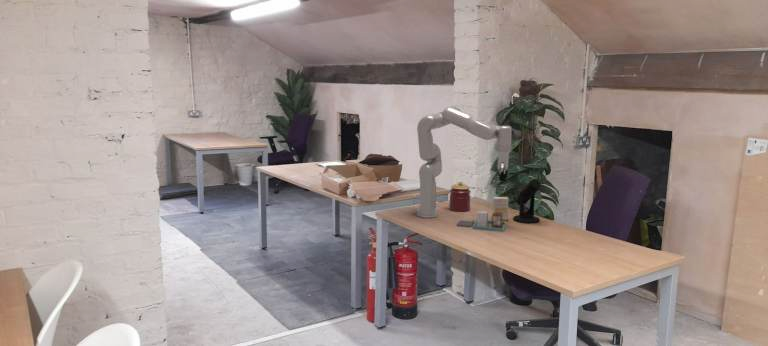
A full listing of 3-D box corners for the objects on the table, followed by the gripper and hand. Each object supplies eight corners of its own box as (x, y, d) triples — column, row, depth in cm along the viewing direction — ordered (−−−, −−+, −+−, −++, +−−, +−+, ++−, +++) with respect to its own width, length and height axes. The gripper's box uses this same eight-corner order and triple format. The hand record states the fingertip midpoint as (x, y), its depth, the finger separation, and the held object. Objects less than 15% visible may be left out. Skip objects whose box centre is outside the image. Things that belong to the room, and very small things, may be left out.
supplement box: (506, 218, 324) (507, 196, 322) (507, 220, 319) (508, 198, 317) (492, 218, 325) (493, 196, 323) (493, 220, 320) (494, 198, 318)
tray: (472, 228, 302) (472, 225, 302) (476, 222, 316) (476, 219, 316) (503, 231, 297) (503, 228, 297) (506, 224, 311) (506, 222, 310)
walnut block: (491, 228, 304) (492, 214, 302) (492, 225, 308) (493, 211, 307) (500, 229, 302) (501, 214, 301) (502, 226, 307) (502, 212, 305)
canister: (472, 208, 349) (473, 180, 346) (466, 212, 337) (467, 184, 334) (452, 206, 354) (453, 179, 351) (446, 210, 343) (447, 182, 340)
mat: (456, 225, 307) (456, 224, 307) (460, 221, 317) (460, 220, 317) (470, 227, 305) (470, 225, 305) (474, 222, 314) (474, 221, 314)
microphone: (525, 225, 310) (528, 181, 305) (506, 218, 325) (508, 176, 321) (546, 222, 316) (549, 179, 311) (527, 215, 331) (529, 174, 327)
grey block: (477, 226, 306) (477, 212, 305) (478, 224, 311) (479, 210, 310) (486, 227, 305) (486, 213, 303) (487, 225, 309) (488, 211, 308)
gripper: (498, 146, 311) (497, 176, 314) (495, 150, 295) (494, 182, 298) (512, 147, 309) (511, 177, 312) (509, 150, 293) (508, 182, 296)
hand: (503, 179), depth 305 cm, fingers open, 9 cm apart
